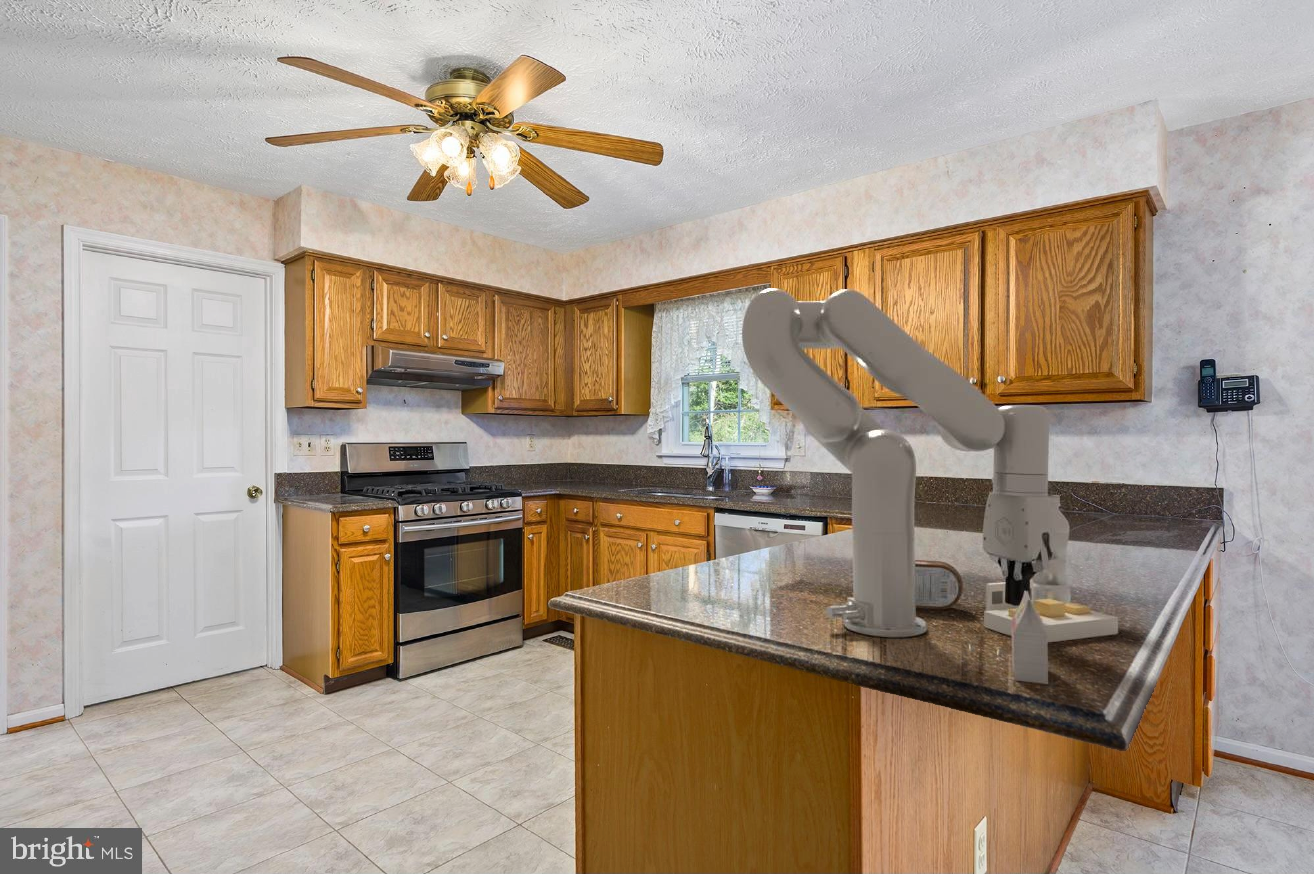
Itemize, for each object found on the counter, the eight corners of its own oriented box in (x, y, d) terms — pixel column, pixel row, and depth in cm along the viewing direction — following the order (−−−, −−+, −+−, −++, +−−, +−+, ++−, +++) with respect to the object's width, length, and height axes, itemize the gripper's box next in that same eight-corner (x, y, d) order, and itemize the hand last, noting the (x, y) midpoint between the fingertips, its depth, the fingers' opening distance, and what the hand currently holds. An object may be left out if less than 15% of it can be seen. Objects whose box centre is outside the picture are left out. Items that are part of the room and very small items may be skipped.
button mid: (1049, 625, 109) (1049, 604, 109) (1034, 620, 112) (1033, 600, 112) (1065, 623, 110) (1065, 602, 110) (1049, 618, 113) (1048, 598, 113)
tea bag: (1043, 667, 93) (1042, 591, 93) (1048, 684, 87) (1046, 602, 87) (1012, 664, 95) (1010, 589, 95) (1014, 680, 88) (1013, 599, 88)
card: (990, 621, 116) (990, 584, 116) (986, 619, 117) (985, 583, 117) (1034, 616, 119) (1033, 580, 119) (1029, 615, 120) (1029, 579, 120)
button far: (1075, 628, 110) (1075, 608, 110) (1059, 624, 113) (1059, 604, 113) (1090, 627, 111) (1090, 606, 111) (1073, 622, 114) (1073, 602, 114)
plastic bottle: (1059, 606, 126) (1058, 493, 126) (1078, 615, 120) (1076, 496, 120) (1022, 605, 127) (1020, 494, 127) (1038, 614, 120) (1036, 497, 120)
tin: (962, 608, 126) (962, 560, 126) (964, 612, 123) (963, 563, 123) (874, 602, 131) (873, 557, 131) (873, 606, 128) (873, 559, 128)
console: (1034, 643, 104) (1034, 626, 104) (984, 626, 113) (984, 611, 113) (1118, 633, 108) (1117, 617, 108) (1062, 618, 118) (1062, 603, 118)
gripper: (965, 481, 115) (962, 594, 115) (1040, 489, 101) (1037, 617, 101) (1002, 482, 118) (1000, 592, 118) (1080, 489, 103) (1077, 614, 103)
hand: (1017, 603), depth 109 cm, fingers closed
